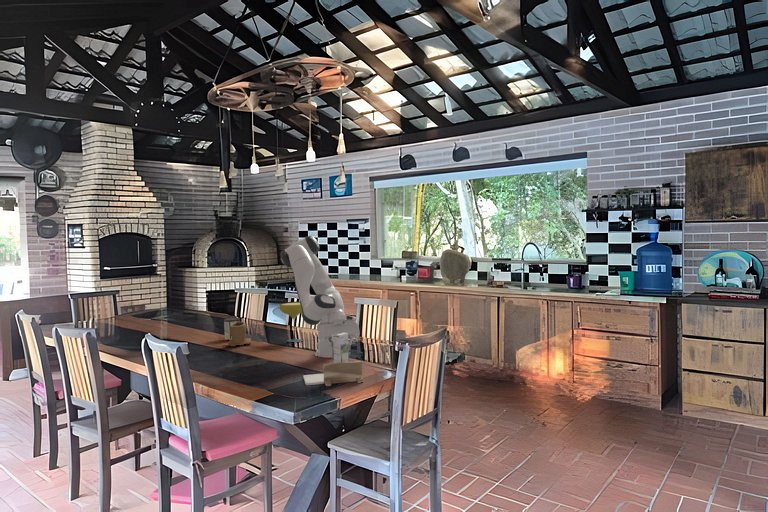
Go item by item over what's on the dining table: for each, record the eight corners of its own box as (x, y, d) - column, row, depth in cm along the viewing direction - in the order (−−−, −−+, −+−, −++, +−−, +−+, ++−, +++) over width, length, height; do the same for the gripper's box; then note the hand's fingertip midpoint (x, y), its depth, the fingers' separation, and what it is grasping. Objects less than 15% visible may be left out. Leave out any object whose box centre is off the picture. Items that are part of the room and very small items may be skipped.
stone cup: (231, 348, 323) (230, 324, 322) (226, 345, 333) (225, 322, 333) (255, 345, 331) (254, 322, 330) (249, 342, 341) (248, 319, 340)
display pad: (303, 377, 255) (303, 375, 255) (323, 375, 258) (323, 373, 257) (305, 385, 242) (305, 383, 242) (327, 383, 244) (327, 381, 244)
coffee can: (233, 337, 358) (232, 317, 358) (243, 338, 353) (242, 318, 352) (221, 340, 350) (220, 319, 349) (231, 341, 344) (231, 320, 343)
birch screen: (323, 383, 244) (323, 364, 244) (361, 379, 249) (361, 361, 248) (325, 386, 240) (324, 366, 239) (363, 382, 244) (363, 363, 244)
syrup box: (341, 361, 254) (339, 331, 254) (349, 362, 251) (348, 332, 250) (332, 363, 250) (331, 333, 249) (341, 365, 246) (339, 334, 245)
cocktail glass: (284, 338, 349) (282, 301, 348) (310, 338, 349) (309, 301, 348) (277, 344, 331) (276, 305, 330) (305, 344, 331) (304, 305, 329)
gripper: (316, 319, 254) (318, 343, 245) (357, 316, 258) (361, 340, 249) (316, 327, 259) (318, 350, 250) (356, 323, 263) (360, 347, 254)
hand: (340, 345), depth 250 cm, fingers closed on syrup box, 8 cm apart
